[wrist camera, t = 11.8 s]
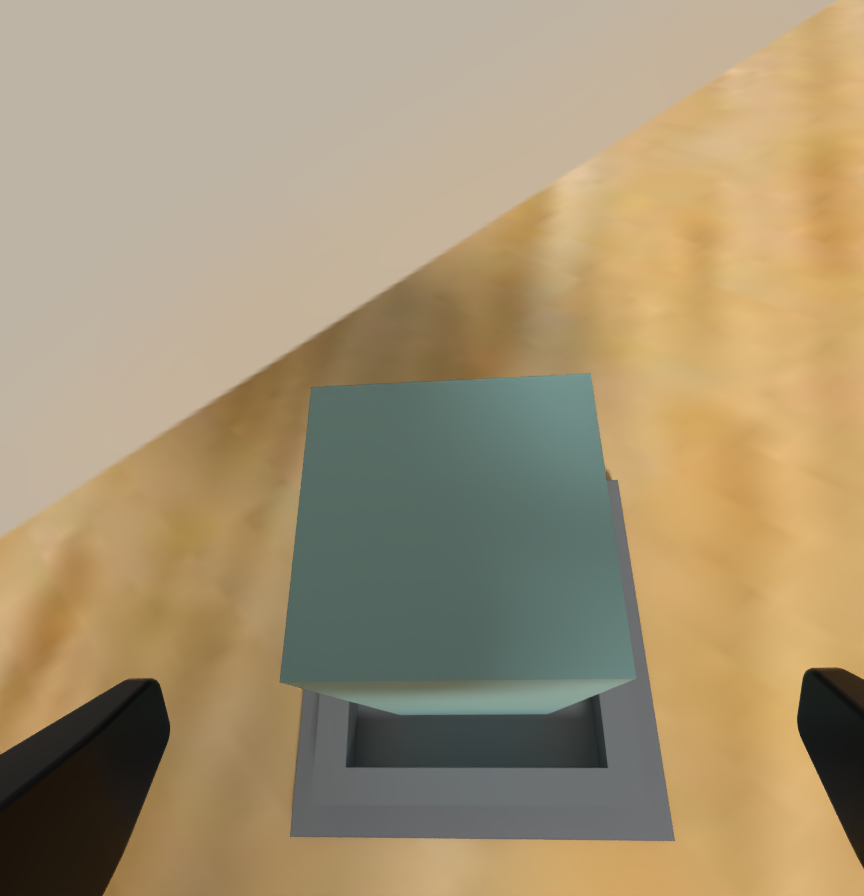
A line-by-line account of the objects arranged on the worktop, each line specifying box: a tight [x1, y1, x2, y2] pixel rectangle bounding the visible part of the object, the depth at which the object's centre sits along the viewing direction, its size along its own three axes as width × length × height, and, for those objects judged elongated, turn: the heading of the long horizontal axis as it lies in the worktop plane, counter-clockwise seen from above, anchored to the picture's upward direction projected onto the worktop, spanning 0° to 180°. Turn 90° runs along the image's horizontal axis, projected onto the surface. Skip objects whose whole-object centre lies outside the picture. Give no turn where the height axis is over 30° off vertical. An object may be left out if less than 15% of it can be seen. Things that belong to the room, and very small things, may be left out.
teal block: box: [280, 373, 636, 715], centre depth 15 cm, size 5×5×13 cm
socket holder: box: [290, 480, 675, 841], centre depth 20 cm, size 12×12×2 cm
